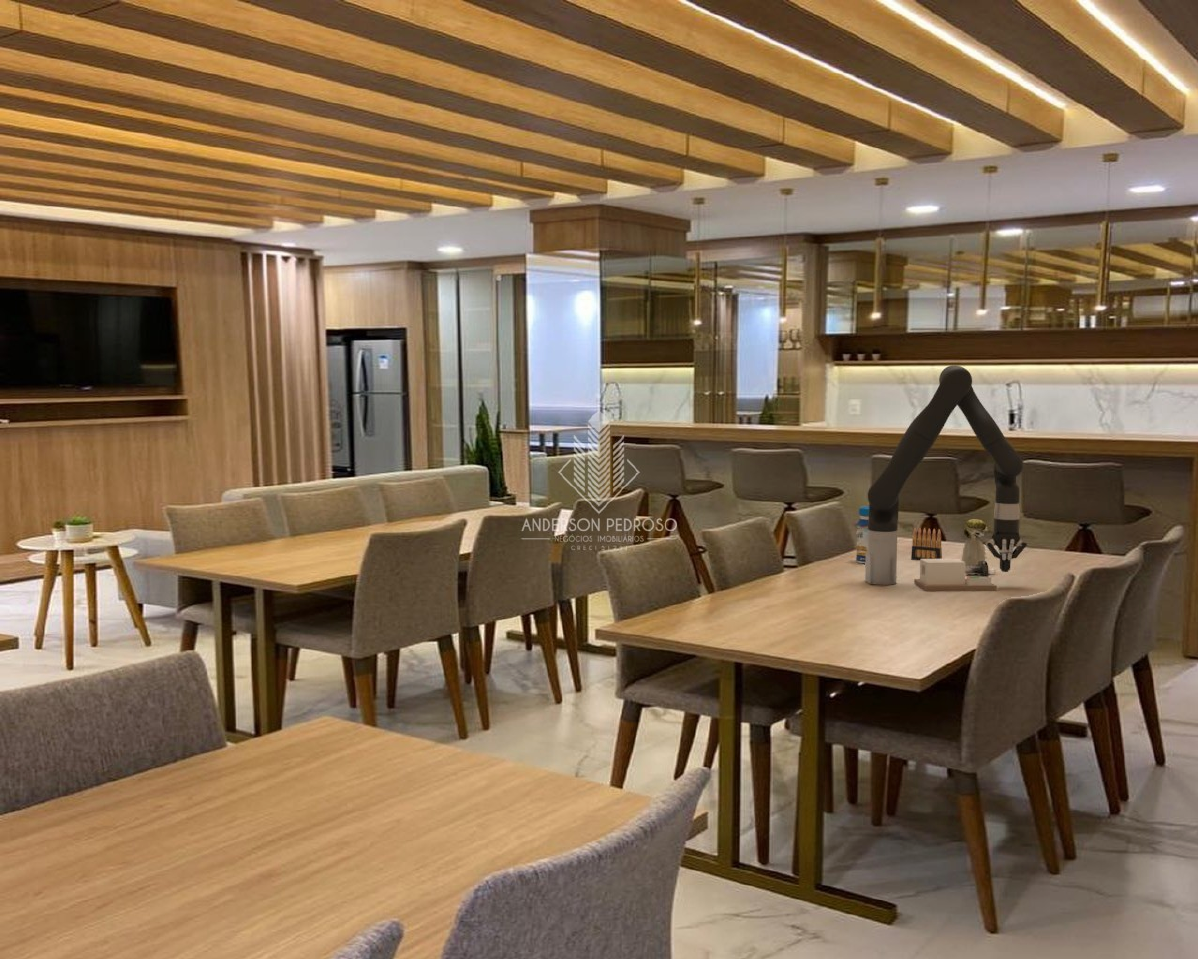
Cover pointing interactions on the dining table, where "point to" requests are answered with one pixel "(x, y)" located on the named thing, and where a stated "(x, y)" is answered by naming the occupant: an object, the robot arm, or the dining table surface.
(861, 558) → the beverage bottle
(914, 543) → the ammunition clip
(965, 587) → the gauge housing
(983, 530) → the figurine
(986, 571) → the plunger
